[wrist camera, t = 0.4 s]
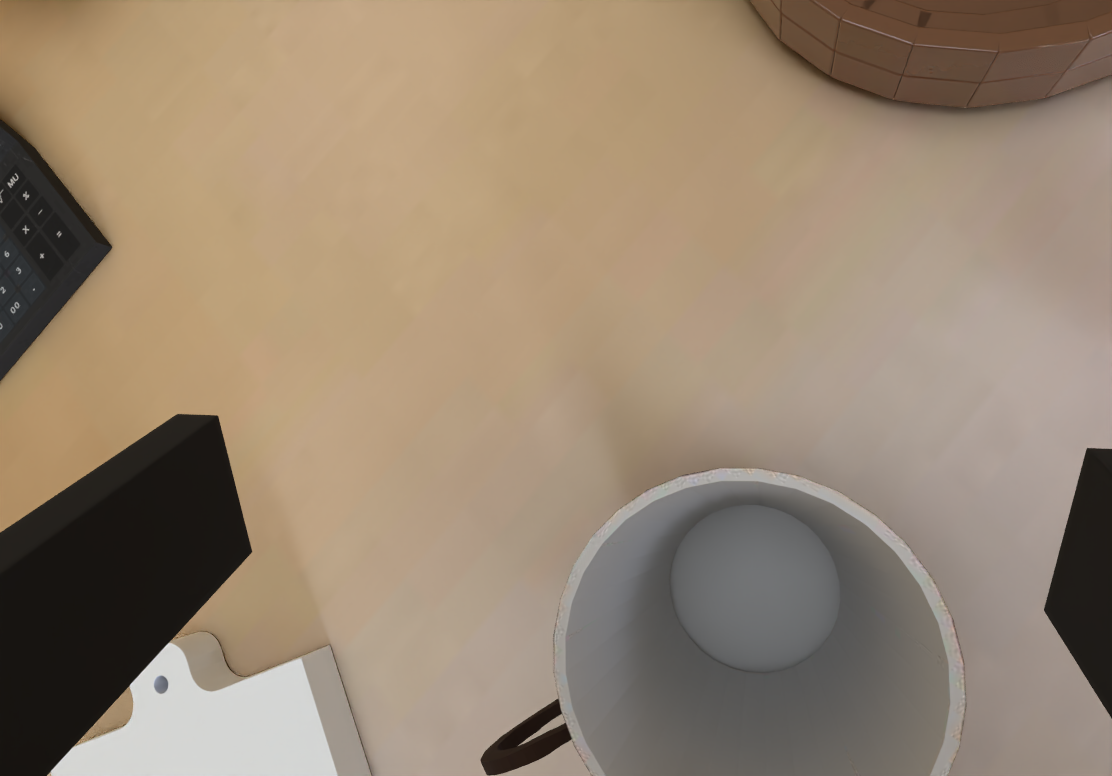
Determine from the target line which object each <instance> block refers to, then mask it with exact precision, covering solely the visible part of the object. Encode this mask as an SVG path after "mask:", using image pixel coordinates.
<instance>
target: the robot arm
mask: <svg viewBox="0 0 1112 776" xmlns="http://www.w3.org/2000/svg"><path fill="white" fill-rule="evenodd" d="M251 553H252V549H251V545H250V542H249V538H248V534H247V530H246V526H245V522H244V518H243V514H242V510H241V506H240V502H239V498H238V494H237V490H236V486H235V482H234V478H233V474H232V470H231V466H230V462H229V458H228V454H227V450H226V446H225V442H224V438H223V434H222V430H221V426H220V422H219V418H218V416H214V415H187V414H177V415H175V416H174V417H172V418H171V419H169V420H168V421H166V422H165V423H163V424H162V425H160V426H159V427H157V428H156V429H154V430H153V431H151V432H150V433H148V434H147V435H145V436H144V437H142V438H141V439H140V440H138V441H137V442H135V443H134V444H132V445H131V446H129V447H128V448H126V449H125V450H123V451H122V452H120V453H119V454H117V455H116V456H114V457H113V458H111V459H110V460H108V461H107V462H105V463H104V464H102V465H101V466H99V467H98V468H96V469H95V470H93V471H92V472H90V473H89V474H87V475H86V476H84V477H83V478H81V479H80V480H78V481H77V482H75V483H74V484H72V485H71V486H69V487H68V488H66V489H65V490H63V491H62V492H60V493H59V494H57V495H56V496H54V497H53V498H51V499H50V500H48V501H47V502H45V503H44V504H43V505H41V506H40V507H38V508H37V509H35V510H34V511H32V512H31V513H29V514H28V515H26V516H25V517H23V518H22V519H20V520H19V521H17V522H16V523H14V524H13V525H11V526H10V527H8V528H7V529H5V530H4V531H2V532H1V533H0V776H47V775H48V774H49V773H50V772H51V771H52V769H53V768H54V767H55V766H56V765H57V764H58V763H59V762H60V761H61V760H62V759H63V757H64V756H65V755H66V754H67V753H68V752H69V751H70V750H71V749H72V748H73V747H74V745H75V744H76V743H77V742H78V741H79V740H80V739H81V738H82V737H83V736H84V735H85V733H86V732H87V731H88V730H89V729H90V728H91V727H92V726H93V725H94V724H95V723H96V722H97V720H98V719H99V718H100V717H101V716H102V715H103V714H104V713H105V712H106V711H107V710H108V708H109V707H110V706H111V705H112V704H113V703H114V702H115V701H116V700H117V699H118V698H119V696H120V695H121V694H122V693H123V692H124V691H125V690H126V689H127V688H128V687H129V686H130V684H131V683H132V682H133V681H134V680H135V679H136V678H137V677H138V676H139V675H140V674H141V672H142V671H143V670H144V669H145V668H146V667H147V666H148V665H149V664H150V663H151V662H152V661H153V659H154V658H155V657H156V656H157V655H158V654H159V653H160V652H161V651H162V650H163V649H164V647H165V646H166V645H167V644H168V643H169V642H170V641H171V640H172V639H173V638H174V637H175V635H176V634H177V633H178V632H179V631H180V630H181V629H182V628H183V627H184V626H185V625H186V623H187V622H188V621H189V620H190V619H191V618H192V617H193V616H194V615H195V614H196V613H197V612H198V610H199V609H200V608H201V607H202V606H203V605H204V604H205V603H206V602H207V601H208V600H209V598H210V597H211V596H212V595H213V594H214V593H215V592H216V591H217V590H218V589H219V588H220V586H221V585H222V584H223V583H224V582H225V581H226V580H227V579H228V578H229V577H230V576H231V574H232V573H233V572H234V571H235V570H236V569H237V568H238V567H239V566H240V565H241V564H242V563H243V561H244V560H245V559H246V558H247V557H248V556H249V555H250V554H251ZM1044 611H1045V613H1046V614H1047V616H1048V618H1049V619H1050V621H1051V622H1052V624H1053V626H1054V627H1055V629H1056V630H1057V632H1058V634H1059V635H1060V637H1061V638H1062V640H1063V642H1064V643H1065V645H1066V646H1067V648H1068V650H1069V651H1070V653H1071V654H1072V656H1073V657H1074V659H1075V661H1076V662H1077V664H1078V665H1079V667H1080V669H1081V670H1082V672H1083V673H1084V675H1085V677H1086V678H1087V680H1088V681H1089V683H1090V685H1091V686H1092V688H1093V689H1094V691H1095V693H1096V694H1097V696H1098V697H1099V699H1100V701H1101V702H1102V704H1103V705H1104V707H1105V708H1106V710H1107V712H1108V713H1109V715H1110V716H1111V718H1112V449H1096V448H1087V450H1086V453H1085V457H1084V461H1083V465H1082V468H1081V472H1080V476H1079V480H1078V484H1077V487H1076V491H1075V495H1074V499H1073V502H1072V506H1071V510H1070V514H1069V518H1068V521H1067V525H1066V529H1065V533H1064V536H1063V540H1062V544H1061V548H1060V551H1059V555H1058V559H1057V563H1056V567H1055V570H1054V574H1053V578H1052V582H1051V585H1050V589H1049V593H1048V597H1047V600H1046V604H1045V608H1044Z"/></svg>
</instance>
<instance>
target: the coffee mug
mask: <svg viewBox="0 0 1112 776" xmlns="http://www.w3.org/2000/svg"><path fill="white" fill-rule="evenodd" d="M554 677H555V682H556V687H557V693H558V698H559V699H557V700H555V701H554V702H552V703H551V704H549V705H547V706H546V707H544V708H543V709H541V710H540V711H538V712H537V713H535V714H534V715H532V716H531V717H529V718H528V719H526V720H525V721H523V722H522V723H520V724H519V725H517V726H516V727H515V728H513V729H512V730H510V731H509V732H507V733H506V734H504V735H503V736H502V737H500V738H499V739H498V740H497V741H496V742H495V743H494V744H492V745H491V746H490V747H489V748H488V749H487V750H486V751H485V752H484V754H483V756H482V758H481V763H482V765H483V767H484V770H485V772H486V774H487V775H497V774H502V773H505V772H508V771H511V770H514V769H517V768H519V767H522V766H525V765H527V764H530V763H532V762H534V761H537V760H539V759H541V758H543V757H545V756H546V755H548V754H550V753H551V752H552V751H554V750H555V749H557V748H558V747H560V746H561V745H563V744H565V743H566V742H568V741H570V740H571V739H572V741H573V744H574V746H575V748H576V750H577V752H578V753H579V755H580V757H581V758H582V760H583V762H584V763H585V765H586V767H587V769H588V770H589V772H590V774H591V775H592V776H948V774H949V771H950V769H951V766H952V764H953V762H954V759H955V757H956V754H957V752H958V749H959V746H960V740H961V734H962V728H963V722H964V716H965V710H966V690H965V669H964V660H963V656H962V652H961V648H960V644H959V641H958V637H957V633H956V629H955V625H954V621H953V618H952V616H951V614H950V612H949V610H948V608H947V606H946V604H945V602H944V600H943V598H942V596H941V594H940V592H939V590H938V588H937V586H936V583H935V581H934V579H933V578H932V577H931V575H930V574H929V573H928V571H927V570H926V569H925V567H924V566H923V565H922V563H921V562H920V561H919V559H918V558H917V557H916V555H915V554H914V553H913V551H912V550H911V549H910V547H909V546H908V545H907V544H906V543H905V542H904V541H903V540H902V539H901V538H900V537H899V536H898V535H897V534H896V533H895V532H893V531H892V530H891V529H890V528H889V527H888V526H887V525H886V524H885V523H884V522H883V521H881V520H880V519H879V518H878V517H877V516H876V515H875V514H873V513H872V512H870V511H869V510H867V509H865V508H864V507H862V506H861V505H859V504H858V503H856V502H854V501H853V500H851V499H850V498H848V497H846V496H845V495H843V494H842V493H840V492H838V491H836V490H833V489H831V488H828V487H826V486H823V485H821V484H818V483H816V482H813V481H811V480H808V479H806V478H803V477H801V476H797V475H792V474H787V473H782V472H776V471H771V470H766V469H761V468H718V469H713V470H708V471H702V472H697V473H692V474H687V475H682V476H680V477H677V478H675V479H672V480H670V481H668V482H665V483H663V484H660V485H658V486H655V487H653V488H651V489H648V490H647V491H645V492H644V493H642V494H641V495H639V496H638V497H636V498H635V499H633V500H632V501H630V502H629V503H627V504H626V505H624V506H623V507H621V508H620V509H618V510H617V511H616V512H615V513H614V514H613V515H612V516H611V517H610V519H609V520H608V521H607V522H606V523H605V524H604V525H603V526H602V527H601V528H600V529H599V530H598V531H597V532H596V533H595V534H594V535H593V536H592V538H591V539H590V541H589V542H588V544H587V545H586V547H585V548H584V550H583V552H582V553H581V555H580V556H579V558H578V559H577V561H576V562H575V564H574V565H573V568H572V571H571V573H570V576H569V578H568V581H567V583H566V586H565V588H564V591H563V593H562V596H561V598H560V603H559V609H558V614H557V619H556V625H555V630H554ZM560 714H562V715H563V717H564V720H565V723H564V724H563V725H561V726H559V727H557V728H555V729H552V730H550V731H548V732H546V733H544V734H542V735H540V736H538V737H536V738H534V739H532V740H531V741H529V742H527V743H525V744H522V745H520V746H518V745H519V744H521V743H522V742H523V741H525V740H526V739H527V738H528V737H530V736H531V735H533V734H534V733H536V732H537V731H538V730H540V729H541V728H542V727H543V726H544V725H546V724H547V723H548V722H550V721H551V720H552V719H554V718H555V717H557V716H559V715H560Z"/></svg>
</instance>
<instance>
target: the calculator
mask: <svg viewBox="0 0 1112 776" xmlns="http://www.w3.org/2000/svg"><path fill="white" fill-rule="evenodd" d="M111 248H112V247H111V245H110V244H109V243H108V241H107V240H106V239H105V238H104V236H103V235H102V234H101V232H100V231H99V230H98V229H97V227H96V226H95V225H94V224H93V222H92V221H91V220H90V218H89V217H88V216H87V215H86V213H85V212H84V211H83V209H82V208H81V207H80V206H79V204H78V203H77V202H76V200H75V199H74V198H73V197H72V195H71V194H70V193H69V192H68V190H67V189H66V188H65V186H64V185H63V184H62V183H61V181H60V180H59V179H58V177H57V176H56V175H55V174H54V172H53V171H52V170H51V169H50V167H49V166H48V165H47V163H46V162H45V161H44V160H43V158H42V157H41V156H40V154H39V153H38V152H37V151H36V149H35V148H34V147H33V146H32V145H30V144H29V143H28V142H27V141H26V140H24V139H23V138H22V137H21V136H20V135H18V134H17V133H16V132H15V131H14V130H12V129H11V128H10V127H9V126H8V125H7V124H5V123H4V122H3V121H2V120H1V119H0V380H1V379H2V378H3V377H4V375H5V374H6V373H7V372H8V371H9V369H10V368H11V367H12V366H13V365H14V363H15V362H16V361H17V360H18V359H19V358H20V356H21V355H22V354H23V353H24V352H25V350H26V349H27V348H28V347H29V346H30V344H31V343H32V342H33V341H34V340H35V339H36V337H37V336H38V335H39V334H40V333H41V331H42V330H43V329H44V328H45V327H46V325H47V324H48V323H49V322H50V321H51V319H52V318H53V317H54V316H55V315H56V314H57V312H58V311H59V310H60V309H61V308H62V306H63V305H64V304H65V303H66V302H67V300H68V299H69V298H70V297H71V296H72V294H73V293H74V292H75V291H76V290H77V289H78V287H79V286H80V285H81V284H82V283H83V281H84V280H85V279H86V278H87V277H88V275H89V274H90V273H91V272H92V271H93V269H94V268H95V267H96V266H97V265H98V264H99V262H100V261H101V260H102V259H103V258H104V256H105V255H106V254H107V253H108V252H109V250H110V249H111Z"/></svg>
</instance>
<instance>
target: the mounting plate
mask: <svg viewBox="0 0 1112 776" xmlns="http://www.w3.org/2000/svg"><path fill="white" fill-rule="evenodd" d="M130 689H131V693H132V697H133V703H134V704H133V713H132V716H131V718H130V720H129V722H128V723H127V724H126V725H125V726H122V727H120V728H117V729H115V730H112V731H110V732H107V733H104V734H102V735H99V736H97V737H94V738H92V739H89V740H87V741H84V742H82V743H80V744H77V745H75V746H74V747H73V748H72V749H71V750H70V751H69V752H68V753H67V754H66V755H65V756H64V757H63V759H62V760H61V761H60V762H59V763H58V764H57V765H56V766H55V767H54V768H53V769H52V771H51V775H52V776H372V775H371V772H370V769H369V766H368V763H367V760H366V757H365V754H364V750H363V747H362V744H361V741H360V738H359V735H358V732H357V729H356V725H355V722H354V719H353V716H352V713H351V710H350V707H349V704H348V700H347V697H346V694H345V691H344V688H343V685H342V682H341V679H340V675H339V672H338V669H337V666H336V663H335V660H334V657H333V654H332V650H331V647H330V645H328V646H325V647H323V648H320V649H318V650H315V651H313V652H310V653H308V654H305V655H302V656H300V657H297V658H295V659H292V660H290V661H287V662H285V663H282V664H280V665H277V666H275V667H272V668H269V669H267V670H264V671H262V672H259V673H257V674H254V675H252V676H248V677H240V676H238V675H235V674H234V673H233V672H232V671H230V669H229V668H228V666H227V664H226V662H225V660H224V656H223V653H222V649H221V646H220V644H219V642H218V641H217V639H216V638H215V637H214V636H213V635H212V634H210V633H208V632H202V631H200V632H196V633H193V634H190V635H187V636H184V637H181V638H178V639H174V640H171V641H170V642H169V643H168V644H167V645H166V646H165V647H164V649H163V650H162V651H161V652H160V653H159V654H158V655H157V656H156V657H155V658H154V659H153V661H152V662H151V663H150V664H149V665H148V666H147V667H146V668H145V669H144V670H143V671H142V672H141V674H140V675H139V676H138V677H137V678H136V679H135V680H134V681H133V682H132V683H131V684H130Z"/></svg>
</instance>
